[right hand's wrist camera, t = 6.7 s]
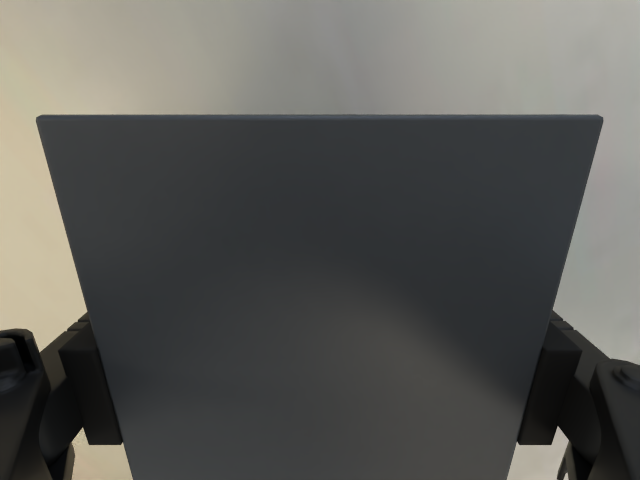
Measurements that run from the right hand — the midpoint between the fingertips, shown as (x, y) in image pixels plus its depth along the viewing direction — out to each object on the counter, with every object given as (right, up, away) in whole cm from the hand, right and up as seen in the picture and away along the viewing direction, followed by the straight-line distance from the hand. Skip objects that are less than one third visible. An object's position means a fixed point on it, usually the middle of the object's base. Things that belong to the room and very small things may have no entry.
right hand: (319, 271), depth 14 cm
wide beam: (0, -19, +7) cm, 20 cm away
